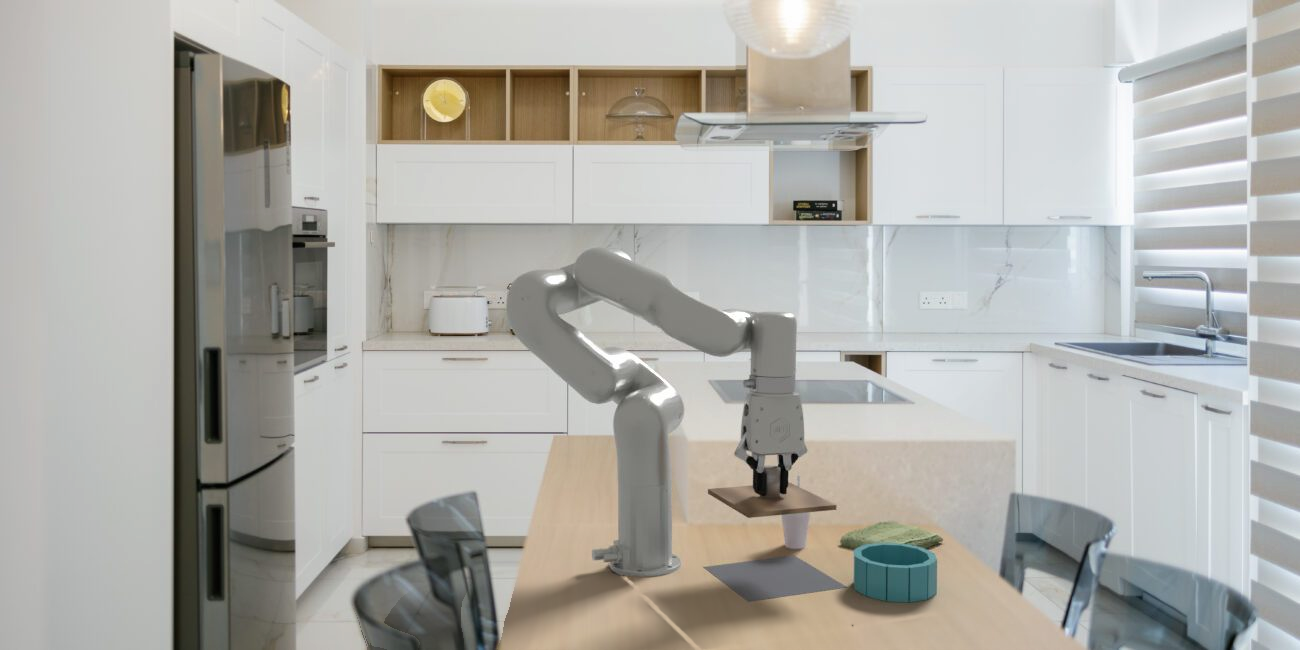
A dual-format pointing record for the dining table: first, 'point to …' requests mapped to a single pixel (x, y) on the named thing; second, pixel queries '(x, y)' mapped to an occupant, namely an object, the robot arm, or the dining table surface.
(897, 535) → the washcloth
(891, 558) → the bowl
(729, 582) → the mat
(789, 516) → the smoothie
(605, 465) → the dining table surface
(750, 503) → the cover
